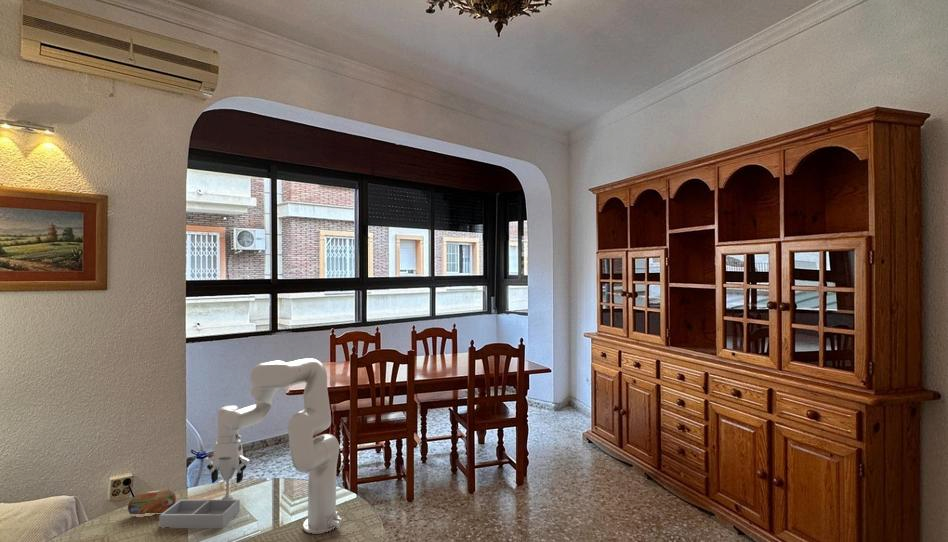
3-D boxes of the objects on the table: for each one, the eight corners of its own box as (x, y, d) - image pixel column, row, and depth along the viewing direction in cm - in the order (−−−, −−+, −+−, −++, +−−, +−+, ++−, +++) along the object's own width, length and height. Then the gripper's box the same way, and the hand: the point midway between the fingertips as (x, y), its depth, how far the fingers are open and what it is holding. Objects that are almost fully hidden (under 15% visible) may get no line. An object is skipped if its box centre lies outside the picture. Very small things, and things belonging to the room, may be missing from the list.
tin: (127, 519, 168) (127, 495, 168) (131, 514, 171) (131, 492, 171) (173, 513, 172) (174, 490, 172) (176, 509, 175) (177, 487, 175)
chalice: (230, 506, 177) (231, 459, 177) (213, 506, 177) (214, 459, 178) (240, 497, 184) (241, 452, 185) (224, 497, 184) (224, 452, 185)
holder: (239, 511, 173) (239, 499, 173) (222, 528, 162) (222, 515, 162) (180, 511, 173) (180, 499, 173) (159, 528, 162) (159, 515, 162)
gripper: (254, 435, 185) (253, 477, 185) (211, 434, 185) (210, 477, 185) (245, 441, 178) (244, 486, 177) (200, 441, 178) (199, 485, 177)
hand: (227, 481), depth 181 cm, fingers open, 9 cm apart
